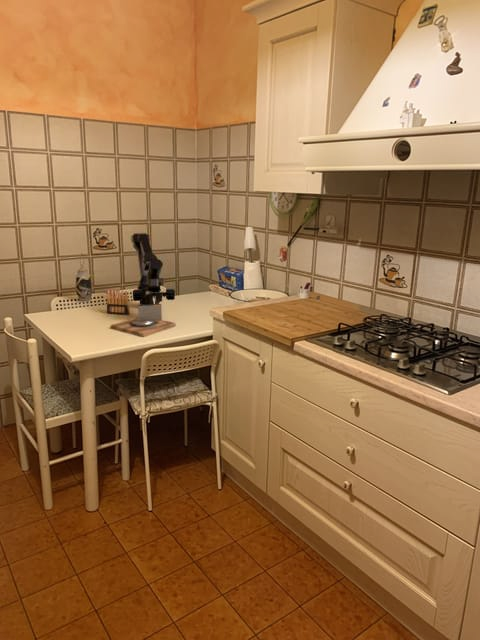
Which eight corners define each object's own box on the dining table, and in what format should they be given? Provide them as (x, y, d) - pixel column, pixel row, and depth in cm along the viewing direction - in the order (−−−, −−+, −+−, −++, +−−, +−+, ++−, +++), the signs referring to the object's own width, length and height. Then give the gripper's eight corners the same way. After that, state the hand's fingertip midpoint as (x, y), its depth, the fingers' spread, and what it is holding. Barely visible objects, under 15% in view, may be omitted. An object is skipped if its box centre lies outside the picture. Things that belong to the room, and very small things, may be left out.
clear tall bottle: (89, 302, 259) (86, 254, 252) (74, 301, 259) (70, 254, 252) (94, 298, 268) (91, 252, 261) (79, 297, 268) (76, 251, 261)
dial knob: (131, 326, 212) (130, 308, 210) (132, 320, 222) (131, 302, 219) (162, 325, 215) (161, 307, 212) (161, 319, 224) (160, 301, 222)
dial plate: (110, 328, 216) (110, 324, 215) (143, 318, 232) (143, 315, 231) (143, 337, 205) (143, 333, 205) (175, 326, 221) (175, 322, 221)
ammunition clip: (129, 314, 239) (128, 290, 235) (128, 315, 237) (127, 290, 233) (108, 313, 240) (107, 288, 236) (106, 314, 238) (105, 289, 235)
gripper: (131, 271, 218) (132, 301, 211) (174, 271, 222) (176, 300, 214) (133, 285, 228) (133, 314, 220) (173, 284, 231) (175, 313, 224)
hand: (154, 310), depth 219 cm, fingers closed
